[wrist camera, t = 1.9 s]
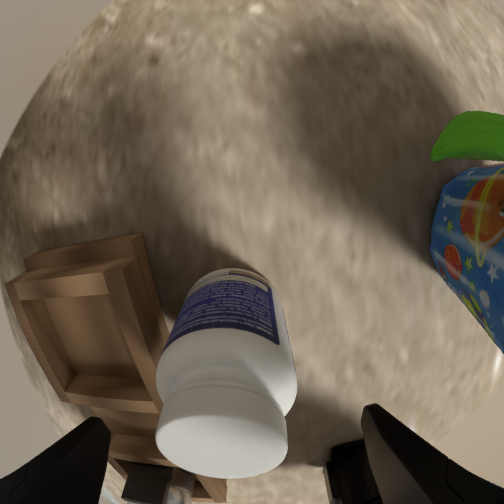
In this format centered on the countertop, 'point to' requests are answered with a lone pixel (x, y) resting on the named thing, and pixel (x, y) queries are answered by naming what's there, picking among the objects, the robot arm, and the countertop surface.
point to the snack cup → (473, 219)
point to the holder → (103, 342)
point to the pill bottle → (227, 378)
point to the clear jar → (158, 485)
